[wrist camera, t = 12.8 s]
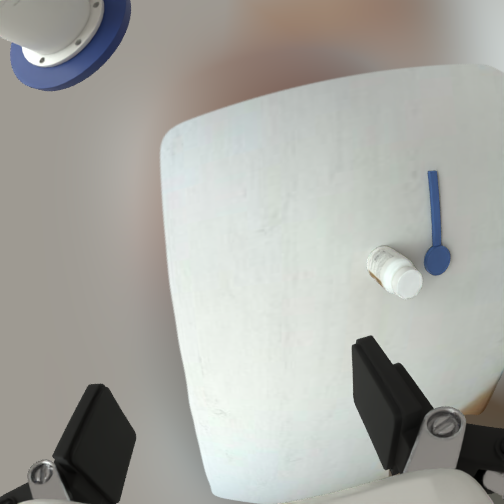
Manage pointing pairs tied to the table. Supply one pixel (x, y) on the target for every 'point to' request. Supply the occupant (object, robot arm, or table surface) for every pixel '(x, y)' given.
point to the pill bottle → (394, 272)
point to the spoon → (436, 232)
